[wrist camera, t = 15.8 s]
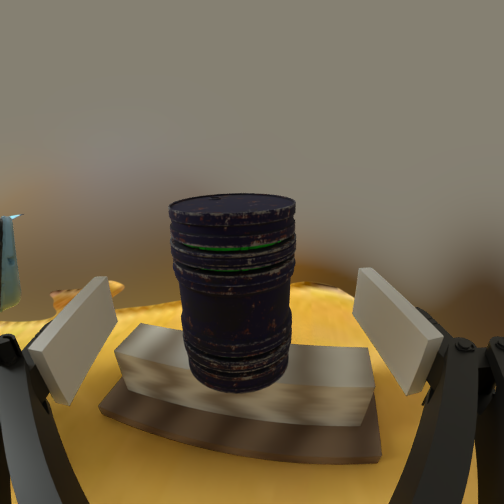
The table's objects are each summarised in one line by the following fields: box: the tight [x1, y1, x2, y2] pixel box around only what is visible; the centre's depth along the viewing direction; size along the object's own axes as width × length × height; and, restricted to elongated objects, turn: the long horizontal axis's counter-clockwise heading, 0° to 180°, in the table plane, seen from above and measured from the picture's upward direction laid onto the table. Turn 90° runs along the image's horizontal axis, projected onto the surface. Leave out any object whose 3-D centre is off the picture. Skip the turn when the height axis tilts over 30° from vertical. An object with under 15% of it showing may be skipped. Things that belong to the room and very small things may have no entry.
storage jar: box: [168, 193, 296, 394], centre depth 24 cm, size 10×10×15 cm
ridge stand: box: [98, 323, 382, 464], centre depth 28 cm, size 30×14×8 cm, turn 78°
